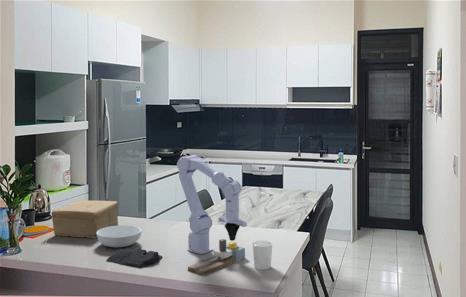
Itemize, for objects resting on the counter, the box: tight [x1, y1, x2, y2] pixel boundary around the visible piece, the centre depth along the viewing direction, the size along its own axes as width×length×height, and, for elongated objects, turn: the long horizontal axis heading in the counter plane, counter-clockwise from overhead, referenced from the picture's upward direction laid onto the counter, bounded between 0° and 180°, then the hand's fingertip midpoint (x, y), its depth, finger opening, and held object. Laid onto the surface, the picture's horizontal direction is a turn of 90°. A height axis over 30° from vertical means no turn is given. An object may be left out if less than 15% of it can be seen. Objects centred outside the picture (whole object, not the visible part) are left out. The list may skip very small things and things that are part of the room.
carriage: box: [213, 239, 232, 260], centre depth 201 cm, size 6×5×8 cm
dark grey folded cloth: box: [105, 248, 163, 269], centre depth 205 cm, size 15×22×5 cm
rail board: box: [187, 255, 236, 276], centre depth 197 cm, size 9×20×2 cm, turn 140°
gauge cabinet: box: [226, 244, 246, 262], centre depth 206 cm, size 9×6×4 cm, turn 50°
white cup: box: [252, 240, 273, 271], centre depth 194 cm, size 8×8×10 cm
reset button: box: [227, 241, 238, 250], centre depth 206 cm, size 4×4×4 cm
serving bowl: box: [96, 224, 142, 249], centre depth 226 cm, size 21×21×7 cm
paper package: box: [51, 199, 119, 239], centre depth 250 cm, size 27×26×14 cm
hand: (232, 240), depth 206 cm, fingers closed
